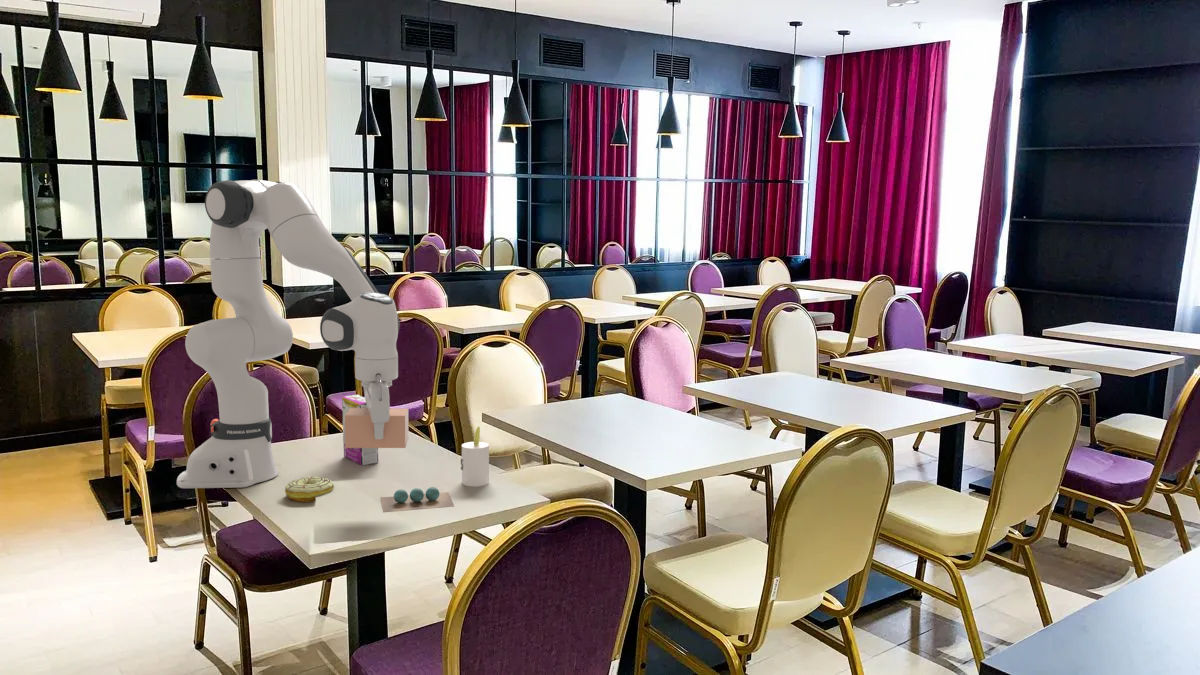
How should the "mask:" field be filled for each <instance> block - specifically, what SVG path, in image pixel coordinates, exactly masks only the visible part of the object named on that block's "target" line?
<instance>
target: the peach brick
mask: <svg viewBox="0 0 1200 675" xmlns="http://www.w3.org/2000/svg"><path fill="white" fill-rule="evenodd" d="M408 442H409V408H400V407H398V408H397V407H395V408H390V418H389V421H388V422H384V430H383V439H375V437H374V423H373V422H372V421H371V417H370V414H369V411H368V408H350V409H349V410H348V412H347V413H346V415H345V448H378V449H405V448H407V444H408Z"/></svg>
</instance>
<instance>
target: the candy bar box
mask: <svg viewBox="0 0 1200 675" xmlns="http://www.w3.org/2000/svg"><path fill="white" fill-rule="evenodd" d="M350 408H368V407H367V404H366V401H365V396H362V395H360V394H353V395H352V394H351V395H344V396H341V409H342V410H341V411H342V412H341V413H342V435H343V436H342V437H343V438H342V440H343V457H344V458H346V459H348V460H350V461H352V462H354V463H356V464H358V465H359V466H361V467H364V466H365V467H366V466H370V465H375V464H378V463H379V448H345V415H346V413H347V412H348V410H349V409H350Z"/></svg>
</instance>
